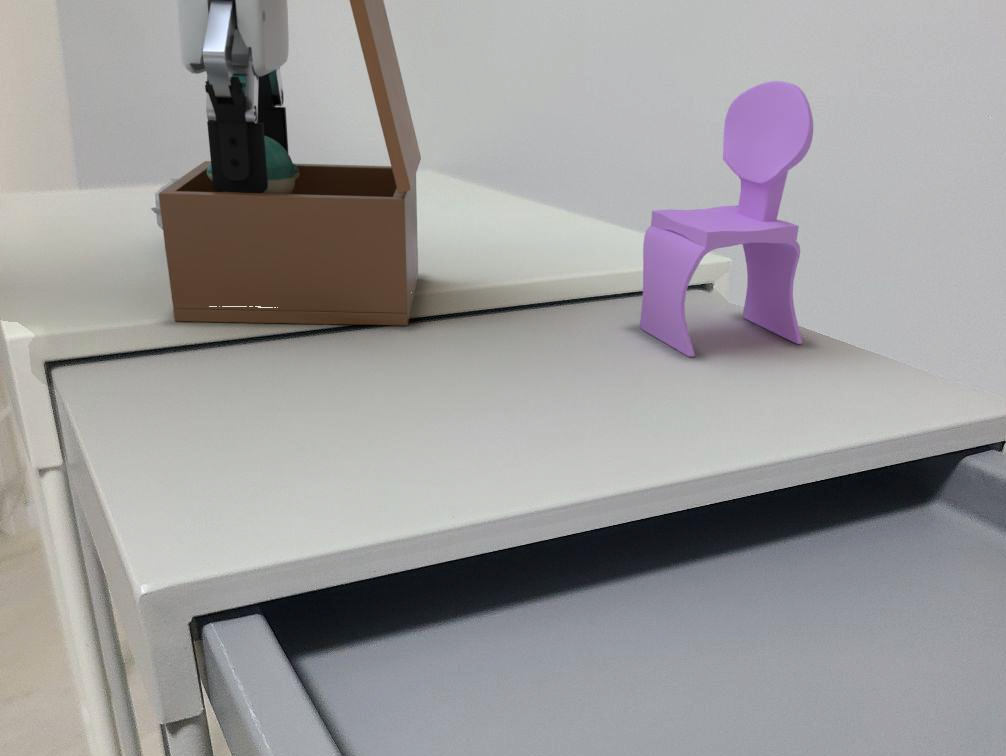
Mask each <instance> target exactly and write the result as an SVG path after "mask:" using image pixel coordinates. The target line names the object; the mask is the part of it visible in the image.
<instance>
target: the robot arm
mask: <svg viewBox="0 0 1006 756" xmlns="http://www.w3.org/2000/svg"><path fill="white" fill-rule="evenodd" d="M176 1H177V17H178V18H177V19H178V35H179V49H180V59H181V63H182V65H183V66H184V68H185V69H186V70H187V71H188V72H189V73H190V74H194V75H195V74H196V75H197V74H202V73H206V80H205V84H204V90H205V93H206V104H205V105H206V106H205V107H206V108H205V109H206V119H207V121H206V125H207V133H208V134H207V136H208V143H209V145H208V146H209V155H210V161H211V168H212V178H213V186H214V188H215V189H216V190H217V191H220V192H243V193H263V192H265V190H266V189H267V188H268V181H267V167H266V153H265V139H264V136H267V137H269V138H271V139H273V140H275V141H276V142H278V143H279V144H280V145H281V146H282V147H283V148H284V149H285V150H286V151H287V153H288V154H289V139H288V123H287V107H286V106H284V102H285V97H284V96H285V95H284V88H283V80H282V74H281V67H282V66H283V65H285V63H287V61H288V58H289V46H290V45H289V40H290V39H289V38H290V37H289V12H288V10H289V9H288V0H176Z"/></svg>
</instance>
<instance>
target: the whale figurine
mask: <svg viewBox="0 0 1006 756" xmlns="http://www.w3.org/2000/svg"><path fill="white" fill-rule="evenodd" d="M264 139H265V153H266V167H267V181H268V188H267V189H266V190H265V192H263V193H260V194H291V193H292V191H293V190H294V187H295V180H296V179H297V178H298V177H299V174H300V172H299V169H298V167H297V166H296V165H295V164H296V163H294V162H293V160H292V158H291V156H290V155H289V152H288V153H287V151H286V150H285V149H284V148H283V147H282V146H281V145H280V144H279V143H278V142H276V141H275V140H273V139H271V138H269V137H267V136H264ZM207 175H208V177H209V178H210V180H212V181H213V178H212V168H211V165H210V166H209V167H208V169H207ZM224 193H243V192H224Z"/></svg>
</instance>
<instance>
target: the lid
mask: <svg viewBox="0 0 1006 756" xmlns="http://www.w3.org/2000/svg"><path fill="white" fill-rule="evenodd" d="M349 4H350V8H351V12H352V16H353V20H354V23H355V28H356V31H357V36H358V40H359V44H360V47H361V51H362V55H363V59H364V63H365V68H366V71H367V74H368V79H369V83H370V84H369V85H370V87H371V91H372V96H373V99H374V103H375V107H376V111H377V115H378V119H379V123H380V128H381V130H382V135H383V138H384V143H385V146H386V147H385V148H386V150H387V155H388V158H389V162H390V166H391V167H392V171H393V175H394V179H395V182H396V186H397V190H398V192H399V193H401V192H405V191H410V190H411V187H412V184H413V181H414V178H415V175H416V176H417V172H418V168H419V166H420V163H421V159H422V155H421V152H420V151H421V150H420V148H419V144H418V139H417V135H416V131H415V127H414V122H413V118H412V114H411V110H410V105H409V101H408V97H407V93H406V90H405V85H404V84H405V83H404V81H403V80H404V79H403V76H402V71H401V68H400V64H399V59H398V55H397V51H396V47H395V43H394V39H393V35H392V30H391V26H390V22H389V18H388V13H387V10H386V5H385V1H384V0H349Z"/></svg>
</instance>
